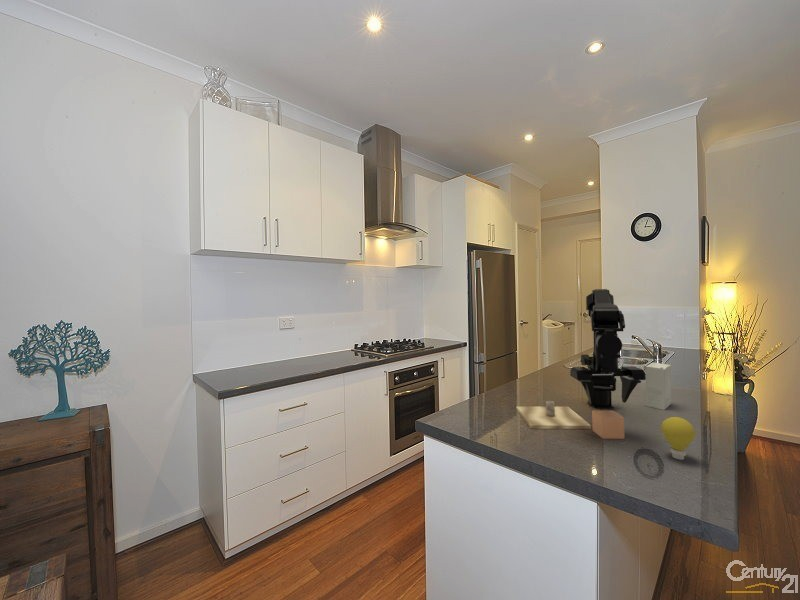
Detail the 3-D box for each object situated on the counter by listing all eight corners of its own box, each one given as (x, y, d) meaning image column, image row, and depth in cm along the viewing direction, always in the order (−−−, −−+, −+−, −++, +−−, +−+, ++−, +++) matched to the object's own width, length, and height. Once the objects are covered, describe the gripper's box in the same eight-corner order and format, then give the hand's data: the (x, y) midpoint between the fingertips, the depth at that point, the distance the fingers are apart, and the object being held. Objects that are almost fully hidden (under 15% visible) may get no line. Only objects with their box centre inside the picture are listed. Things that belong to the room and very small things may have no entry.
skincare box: (652, 401, 130) (651, 362, 130) (672, 405, 125) (671, 364, 125) (645, 406, 125) (644, 365, 124) (665, 410, 120) (665, 367, 120)
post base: (568, 409, 124) (567, 394, 124) (591, 428, 106) (590, 411, 106) (516, 409, 126) (516, 394, 125) (530, 428, 108) (530, 411, 108)
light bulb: (654, 452, 90) (654, 413, 90) (678, 450, 91) (678, 412, 90) (677, 464, 83) (676, 423, 83) (703, 462, 84) (702, 421, 84)
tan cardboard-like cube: (613, 430, 104) (613, 410, 104) (624, 438, 98) (624, 417, 98) (592, 430, 105) (592, 410, 105) (602, 438, 99) (601, 417, 99)
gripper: (624, 344, 109) (625, 394, 109) (562, 345, 110) (563, 394, 111) (646, 350, 97) (647, 405, 98) (577, 351, 99) (578, 405, 99)
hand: (607, 402), depth 102 cm, fingers open, 9 cm apart
